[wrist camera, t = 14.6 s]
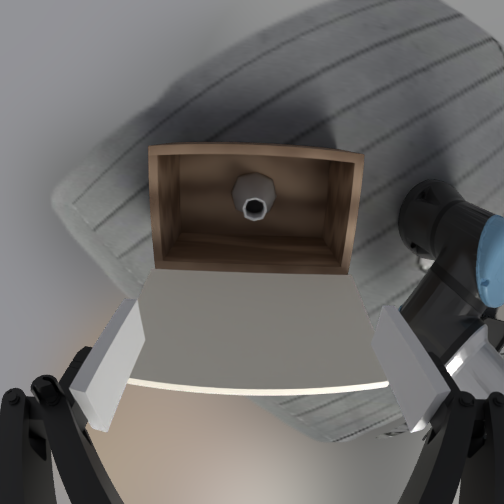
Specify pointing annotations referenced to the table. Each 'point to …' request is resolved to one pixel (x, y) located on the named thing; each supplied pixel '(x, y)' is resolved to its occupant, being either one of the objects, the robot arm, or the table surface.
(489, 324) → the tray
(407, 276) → the table surface
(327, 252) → the bin
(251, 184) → the flask
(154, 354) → the lid
